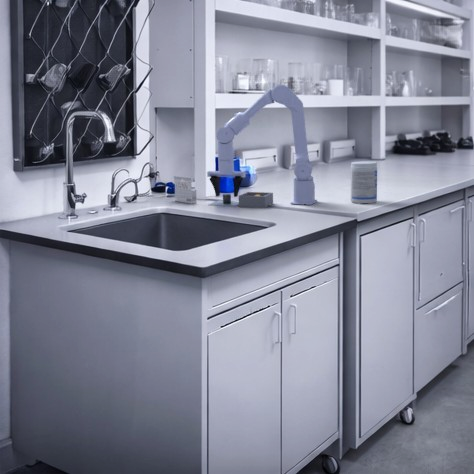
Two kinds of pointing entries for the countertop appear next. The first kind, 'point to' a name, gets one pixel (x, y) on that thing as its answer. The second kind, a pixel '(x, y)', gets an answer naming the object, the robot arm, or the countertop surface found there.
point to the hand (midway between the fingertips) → (226, 196)
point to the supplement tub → (363, 182)
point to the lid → (225, 201)
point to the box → (255, 199)
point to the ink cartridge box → (184, 190)
